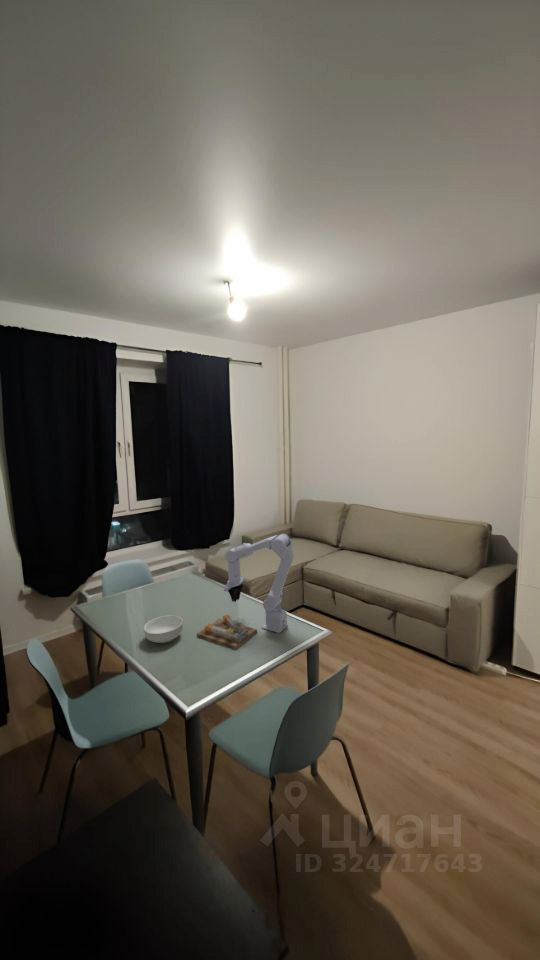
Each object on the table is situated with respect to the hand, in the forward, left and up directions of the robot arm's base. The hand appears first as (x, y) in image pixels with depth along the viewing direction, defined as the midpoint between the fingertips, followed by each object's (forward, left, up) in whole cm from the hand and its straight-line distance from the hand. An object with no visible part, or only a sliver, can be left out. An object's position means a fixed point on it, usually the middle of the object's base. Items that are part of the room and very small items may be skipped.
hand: (235, 600), depth 185 cm
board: (-4, +12, -10) cm, 17 cm away
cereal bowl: (+19, +28, -11) cm, 36 cm away
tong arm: (-5, +10, -9) cm, 14 cm away
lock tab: (-10, +17, -5) cm, 20 cm away
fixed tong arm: (-5, +15, -9) cm, 18 cm away
